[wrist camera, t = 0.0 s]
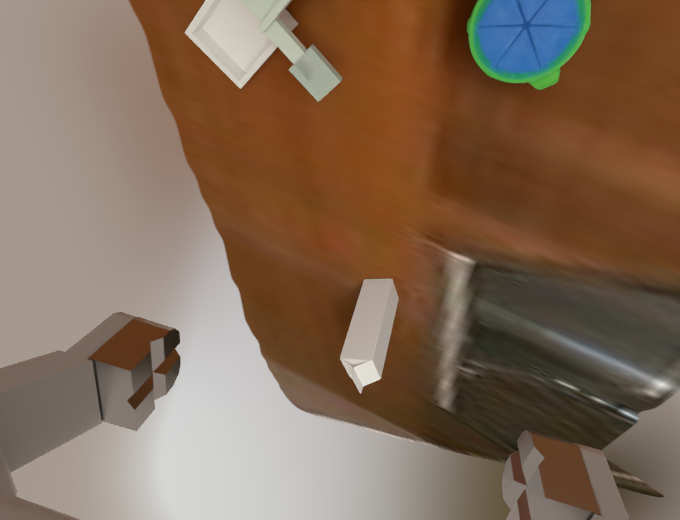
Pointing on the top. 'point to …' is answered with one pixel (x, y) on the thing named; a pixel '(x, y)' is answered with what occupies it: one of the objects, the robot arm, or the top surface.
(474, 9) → the snack cup
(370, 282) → the milk
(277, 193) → the top surface
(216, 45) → the white flat rimmed tray
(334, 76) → the lever
